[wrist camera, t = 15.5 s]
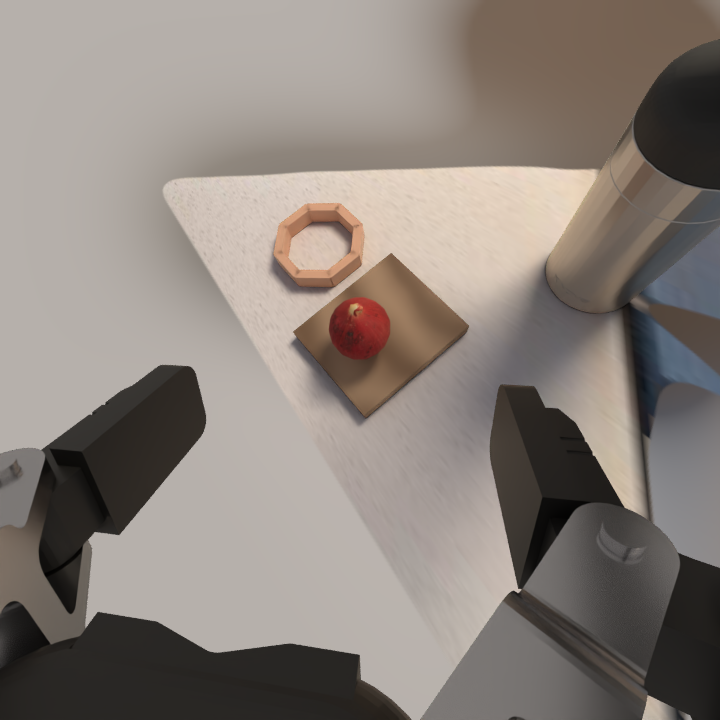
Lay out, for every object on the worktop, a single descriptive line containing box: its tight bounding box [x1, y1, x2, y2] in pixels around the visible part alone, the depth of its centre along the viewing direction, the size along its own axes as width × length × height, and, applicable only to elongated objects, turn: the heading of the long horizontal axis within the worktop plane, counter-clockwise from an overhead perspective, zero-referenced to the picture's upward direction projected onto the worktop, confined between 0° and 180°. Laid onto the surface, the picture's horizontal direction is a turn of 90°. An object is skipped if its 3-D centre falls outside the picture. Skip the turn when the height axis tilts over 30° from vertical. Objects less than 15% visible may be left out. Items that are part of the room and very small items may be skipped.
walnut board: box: [293, 253, 469, 418], centre depth 41 cm, size 14×12×2 cm
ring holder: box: [274, 203, 365, 287], centre depth 45 cm, size 10×10×2 cm
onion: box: [329, 297, 390, 360], centre depth 36 cm, size 6×6×8 cm
